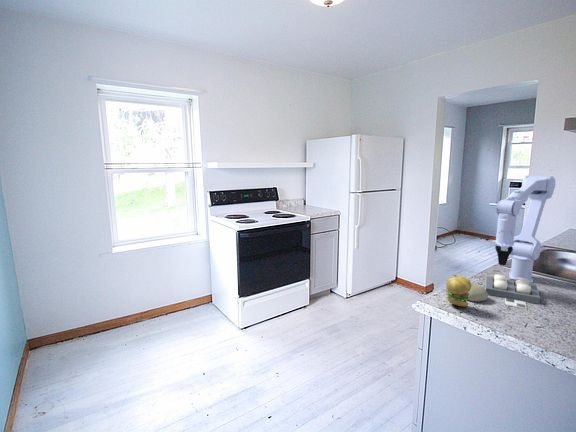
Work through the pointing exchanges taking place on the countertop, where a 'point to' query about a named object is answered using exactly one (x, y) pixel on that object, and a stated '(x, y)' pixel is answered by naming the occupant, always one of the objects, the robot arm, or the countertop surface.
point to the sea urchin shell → (477, 293)
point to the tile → (515, 303)
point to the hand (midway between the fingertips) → (502, 264)
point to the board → (513, 291)
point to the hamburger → (458, 290)
